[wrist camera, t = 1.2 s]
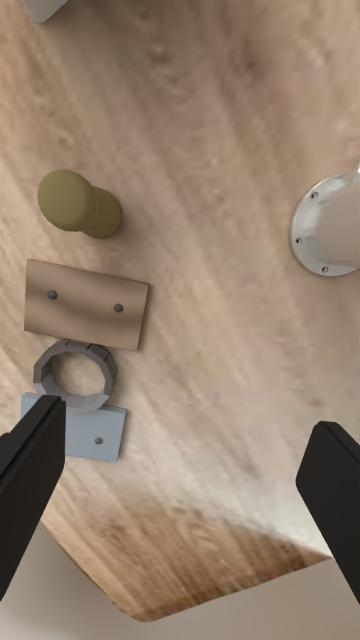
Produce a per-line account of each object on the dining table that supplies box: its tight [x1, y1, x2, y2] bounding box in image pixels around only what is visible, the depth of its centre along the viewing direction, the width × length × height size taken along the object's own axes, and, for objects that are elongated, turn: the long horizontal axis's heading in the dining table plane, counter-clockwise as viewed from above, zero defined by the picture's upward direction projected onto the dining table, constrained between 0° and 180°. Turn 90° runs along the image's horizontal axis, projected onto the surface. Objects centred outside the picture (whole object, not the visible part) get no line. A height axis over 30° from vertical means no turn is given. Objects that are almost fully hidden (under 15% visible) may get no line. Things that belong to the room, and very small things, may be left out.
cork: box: [38, 170, 122, 239], centre depth 27 cm, size 6×6×11 cm
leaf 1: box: [24, 259, 149, 395], centre depth 35 cm, size 17×16×3 cm
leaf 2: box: [21, 373, 127, 463], centre depth 39 cm, size 14×16×3 cm
